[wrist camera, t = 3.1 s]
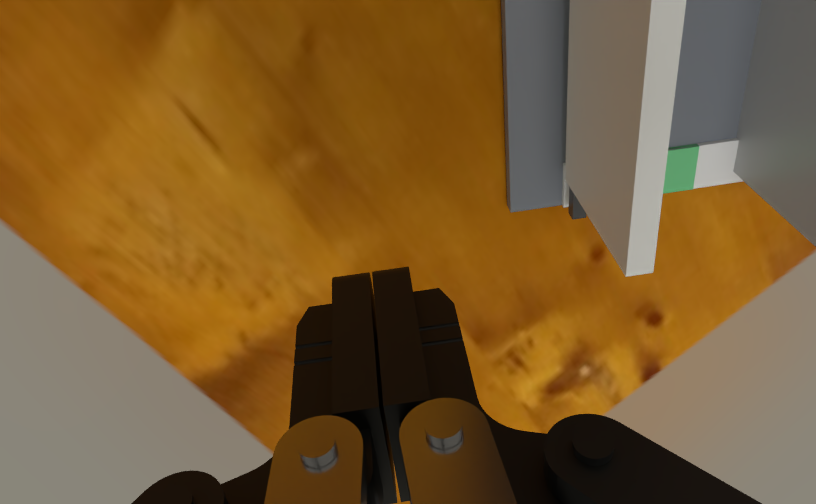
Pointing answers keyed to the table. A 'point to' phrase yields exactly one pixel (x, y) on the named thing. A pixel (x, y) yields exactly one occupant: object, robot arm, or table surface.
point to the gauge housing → (680, 103)
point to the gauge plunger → (621, 119)
